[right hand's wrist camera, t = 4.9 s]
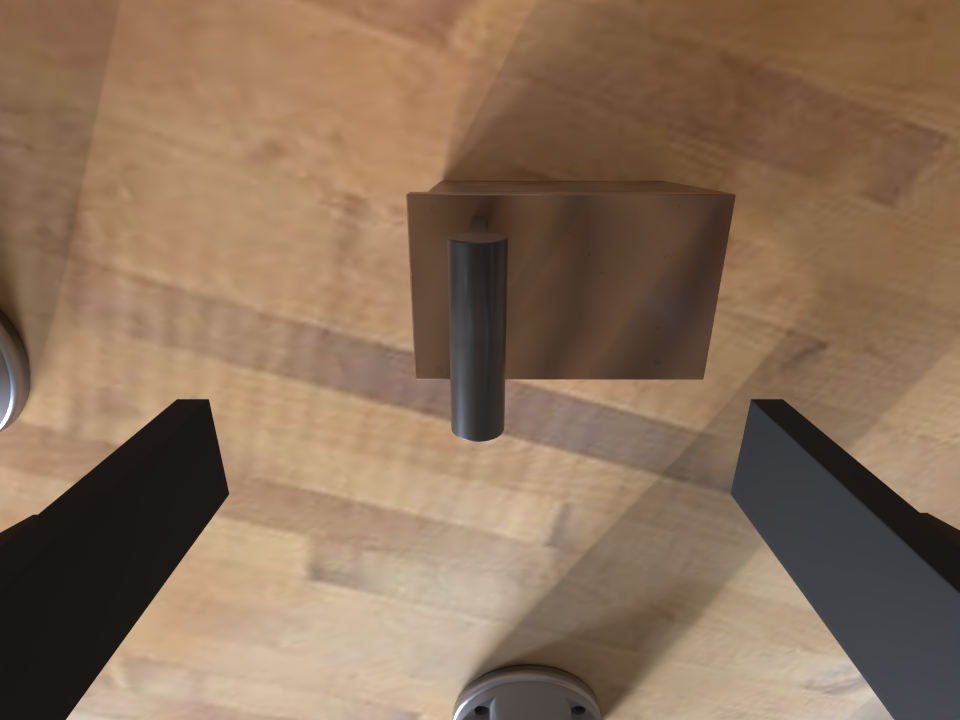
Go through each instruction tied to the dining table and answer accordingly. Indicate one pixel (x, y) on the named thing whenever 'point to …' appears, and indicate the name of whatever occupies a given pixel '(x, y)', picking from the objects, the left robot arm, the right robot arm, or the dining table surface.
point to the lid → (560, 290)
